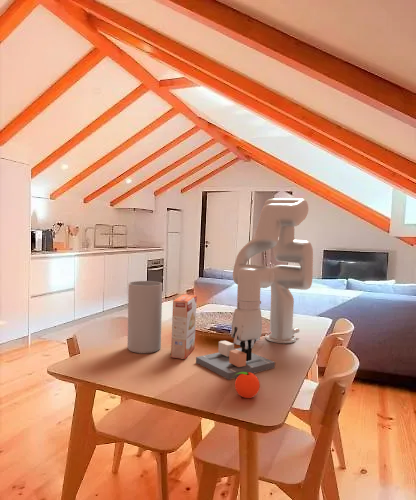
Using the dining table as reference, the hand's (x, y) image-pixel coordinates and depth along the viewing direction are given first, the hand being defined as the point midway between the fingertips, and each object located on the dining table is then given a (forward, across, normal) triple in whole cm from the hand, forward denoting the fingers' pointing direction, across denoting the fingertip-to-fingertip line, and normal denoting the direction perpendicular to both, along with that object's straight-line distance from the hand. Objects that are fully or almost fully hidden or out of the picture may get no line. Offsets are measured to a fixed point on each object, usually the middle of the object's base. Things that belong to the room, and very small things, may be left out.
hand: (246, 359), depth 137 cm
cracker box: (+4, +8, -25) cm, 27 cm away
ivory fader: (+1, +1, -10) cm, 10 cm away
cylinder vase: (+4, +18, -37) cm, 42 cm away
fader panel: (+3, 0, -5) cm, 6 cm away
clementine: (+4, +15, +16) cm, 22 cm away
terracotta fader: (+1, +4, 0) cm, 4 cm away
